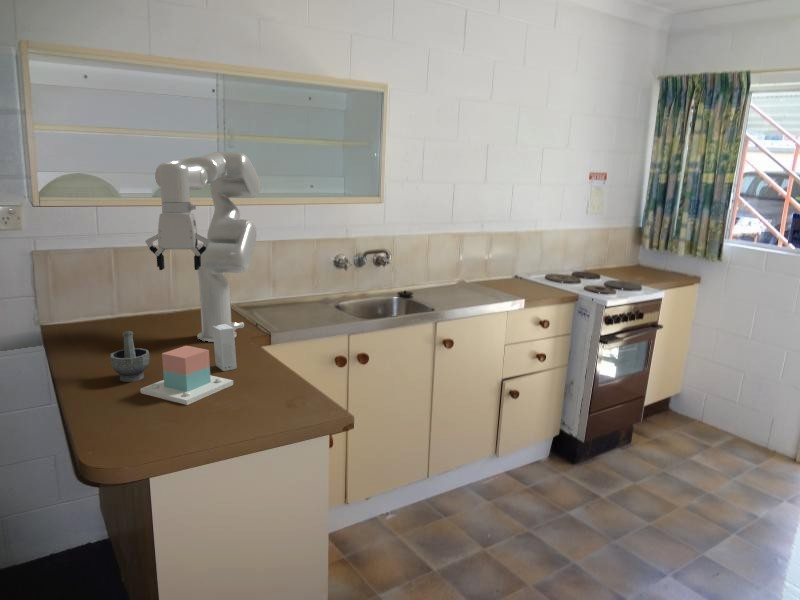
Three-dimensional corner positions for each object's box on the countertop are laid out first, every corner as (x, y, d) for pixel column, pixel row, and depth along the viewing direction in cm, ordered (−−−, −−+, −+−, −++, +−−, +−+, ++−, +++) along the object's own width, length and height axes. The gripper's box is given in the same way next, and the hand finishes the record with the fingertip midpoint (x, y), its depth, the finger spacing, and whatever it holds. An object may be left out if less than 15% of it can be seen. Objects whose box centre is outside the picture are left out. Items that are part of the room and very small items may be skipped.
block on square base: (188, 374, 168) (186, 339, 166) (233, 384, 161) (231, 348, 159) (140, 393, 154) (137, 355, 152) (187, 405, 147) (184, 365, 145)
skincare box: (237, 368, 173) (235, 327, 170) (221, 371, 170) (219, 330, 168) (229, 363, 178) (227, 323, 175) (214, 366, 175) (211, 325, 173)
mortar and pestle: (152, 381, 163) (148, 337, 160) (113, 386, 159) (109, 341, 156) (148, 368, 172) (145, 327, 170) (112, 373, 168) (108, 331, 166)
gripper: (210, 208, 175) (213, 267, 178) (147, 207, 173) (151, 267, 176) (205, 209, 168) (208, 271, 171) (140, 209, 166) (144, 271, 169)
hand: (179, 269), depth 174 cm, fingers open, 9 cm apart
